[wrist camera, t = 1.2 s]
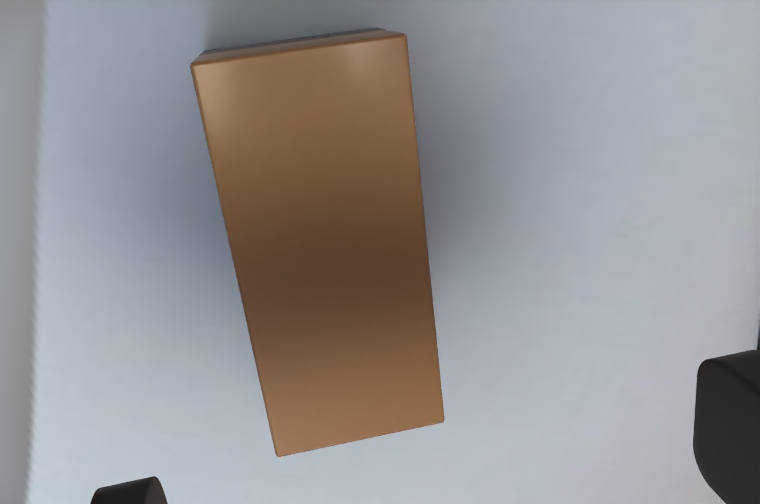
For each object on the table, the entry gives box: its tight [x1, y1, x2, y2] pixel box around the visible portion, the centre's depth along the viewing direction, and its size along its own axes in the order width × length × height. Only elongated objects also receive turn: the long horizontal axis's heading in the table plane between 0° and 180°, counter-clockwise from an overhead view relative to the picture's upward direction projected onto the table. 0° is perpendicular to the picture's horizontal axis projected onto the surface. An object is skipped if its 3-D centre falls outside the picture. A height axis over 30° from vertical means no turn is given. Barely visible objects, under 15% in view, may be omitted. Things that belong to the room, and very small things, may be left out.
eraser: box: [190, 28, 444, 457], centre depth 19 cm, size 11×5×4 cm, turn 7°
